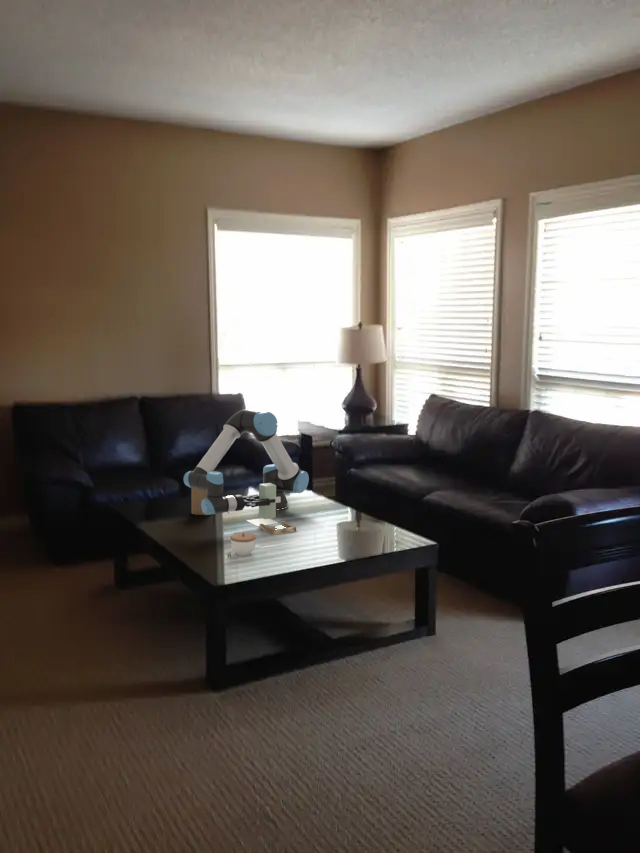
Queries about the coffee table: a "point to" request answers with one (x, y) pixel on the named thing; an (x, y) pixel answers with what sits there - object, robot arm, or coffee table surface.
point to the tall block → (264, 493)
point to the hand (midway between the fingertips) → (276, 497)
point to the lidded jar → (243, 543)
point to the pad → (262, 521)
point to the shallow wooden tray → (272, 529)
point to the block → (197, 501)
